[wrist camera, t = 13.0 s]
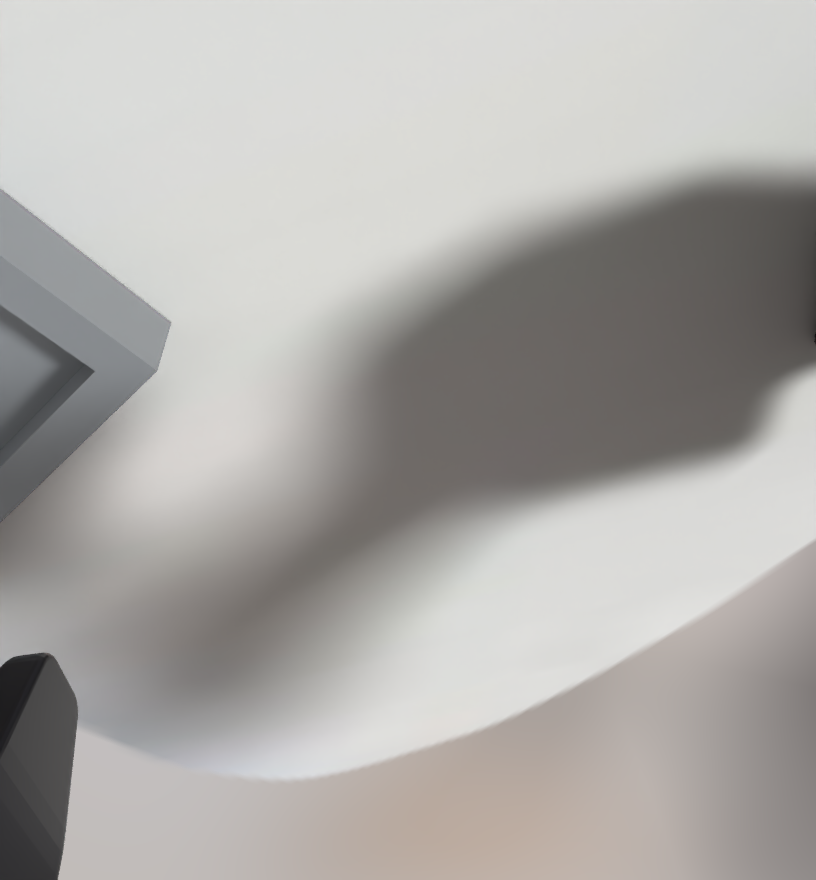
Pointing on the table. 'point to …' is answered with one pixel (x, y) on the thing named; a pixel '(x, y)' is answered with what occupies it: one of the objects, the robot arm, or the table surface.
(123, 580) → the table surface
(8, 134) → the table surface
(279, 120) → the table surface
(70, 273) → the coaster tray
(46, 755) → the robot arm
